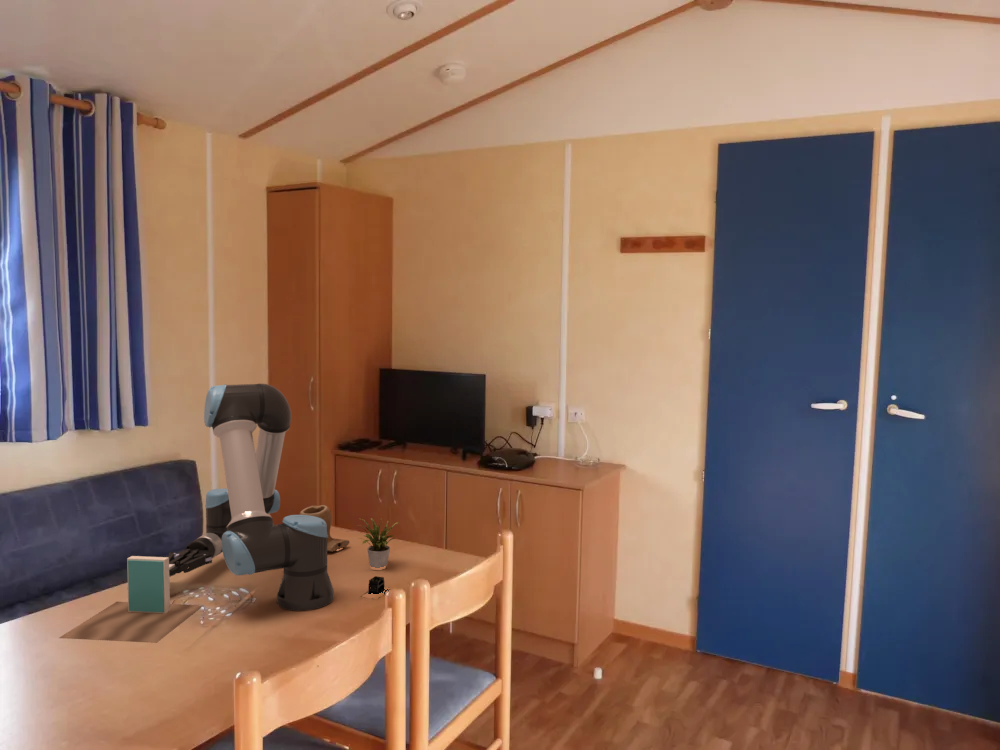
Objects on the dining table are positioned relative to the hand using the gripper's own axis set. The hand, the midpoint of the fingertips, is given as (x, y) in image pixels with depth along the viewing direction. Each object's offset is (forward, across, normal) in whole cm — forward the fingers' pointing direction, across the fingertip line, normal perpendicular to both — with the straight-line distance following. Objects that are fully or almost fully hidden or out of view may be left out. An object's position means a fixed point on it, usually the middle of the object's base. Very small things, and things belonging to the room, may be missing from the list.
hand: (159, 577), depth 185 cm
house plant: (-38, -48, -9) cm, 62 cm away
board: (+11, 0, -8) cm, 14 cm away
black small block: (-18, -54, -9) cm, 58 cm away
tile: (+5, 0, -7) cm, 9 cm away
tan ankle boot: (-53, -26, -9) cm, 60 cm away
